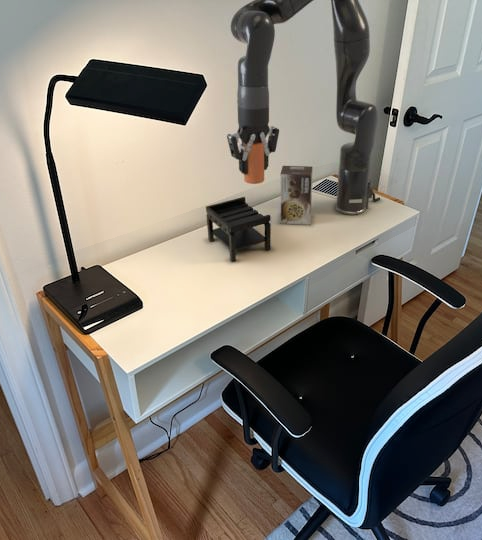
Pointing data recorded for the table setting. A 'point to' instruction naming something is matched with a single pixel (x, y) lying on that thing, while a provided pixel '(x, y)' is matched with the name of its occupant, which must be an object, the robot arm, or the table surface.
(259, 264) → the table surface
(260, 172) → the orange-brown cylinder
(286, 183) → the coffee box
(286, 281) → the table surface
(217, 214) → the rack
